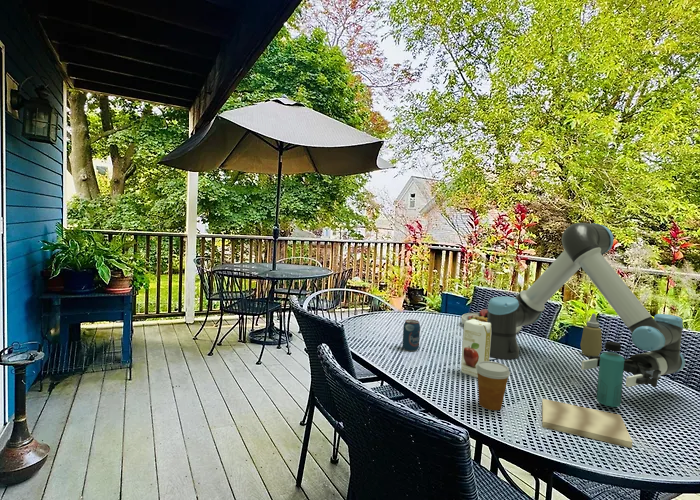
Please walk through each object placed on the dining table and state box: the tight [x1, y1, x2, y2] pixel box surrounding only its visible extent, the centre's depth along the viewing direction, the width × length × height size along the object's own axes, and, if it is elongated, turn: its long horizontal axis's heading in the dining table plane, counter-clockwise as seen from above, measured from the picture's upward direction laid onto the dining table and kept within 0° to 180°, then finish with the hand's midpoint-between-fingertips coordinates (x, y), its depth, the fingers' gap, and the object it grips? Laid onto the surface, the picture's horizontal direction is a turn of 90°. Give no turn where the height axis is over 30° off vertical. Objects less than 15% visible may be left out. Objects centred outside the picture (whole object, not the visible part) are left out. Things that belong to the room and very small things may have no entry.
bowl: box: [461, 308, 523, 334], centre depth 209 cm, size 30×30×8 cm
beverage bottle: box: [595, 341, 626, 408], centre depth 121 cm, size 6×7×20 cm
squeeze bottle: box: [580, 313, 603, 357], centre depth 171 cm, size 8×8×18 cm
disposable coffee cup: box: [476, 360, 511, 411], centre depth 118 cm, size 10×10×12 cm
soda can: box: [402, 319, 421, 352], centre depth 168 cm, size 7×7×12 cm
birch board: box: [541, 398, 633, 449], centre depth 110 cm, size 20×16×2 cm
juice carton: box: [460, 319, 491, 379], centre depth 143 cm, size 8×9×19 cm
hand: (603, 373), depth 119 cm, fingers open, 13 cm apart
